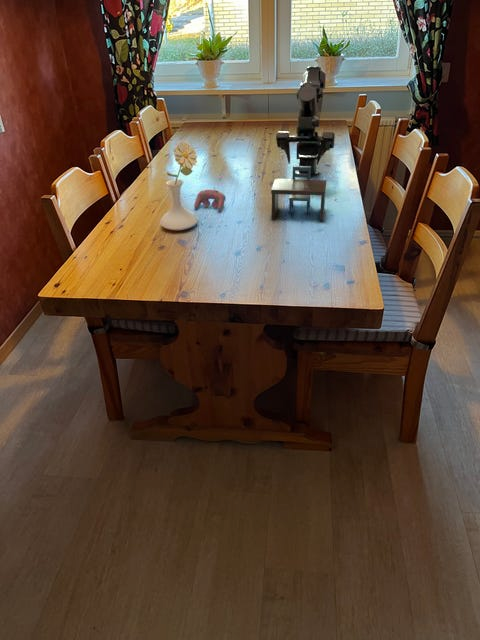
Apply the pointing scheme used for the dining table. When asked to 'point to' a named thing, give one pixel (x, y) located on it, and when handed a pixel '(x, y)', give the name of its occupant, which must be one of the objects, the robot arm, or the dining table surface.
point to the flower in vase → (178, 214)
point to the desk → (298, 191)
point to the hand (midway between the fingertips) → (303, 163)
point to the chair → (300, 197)
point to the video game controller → (210, 194)
